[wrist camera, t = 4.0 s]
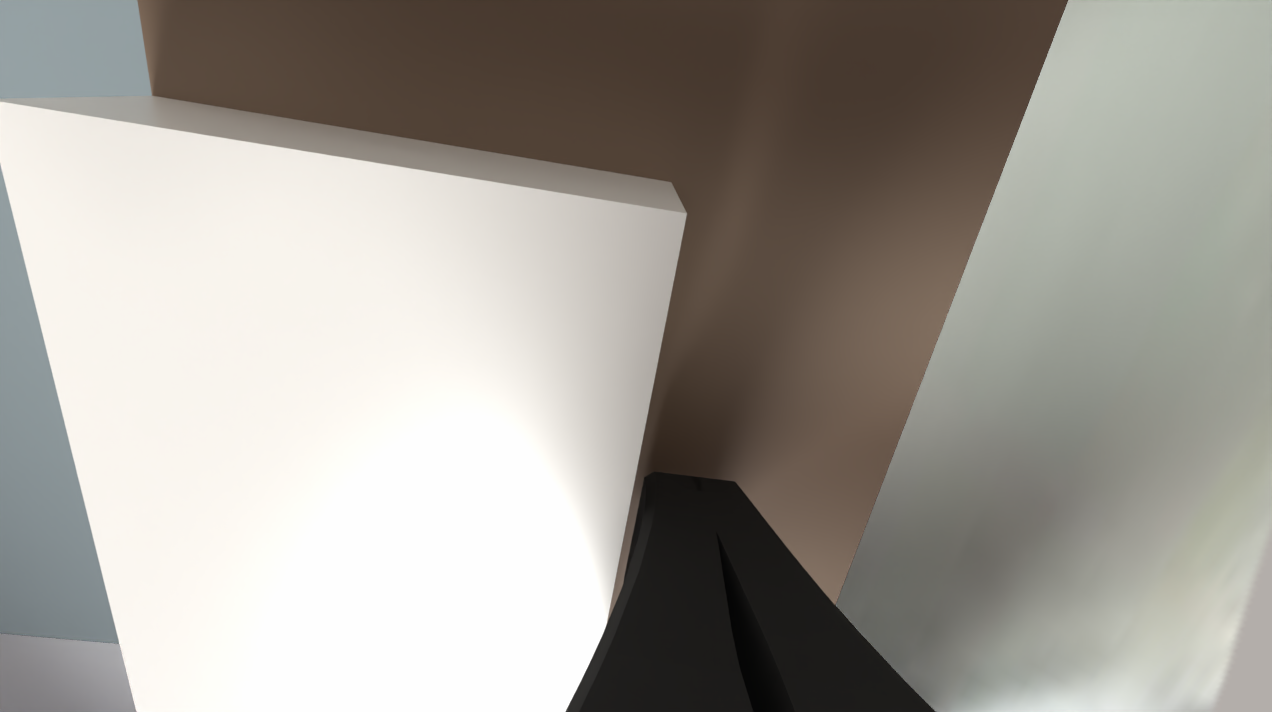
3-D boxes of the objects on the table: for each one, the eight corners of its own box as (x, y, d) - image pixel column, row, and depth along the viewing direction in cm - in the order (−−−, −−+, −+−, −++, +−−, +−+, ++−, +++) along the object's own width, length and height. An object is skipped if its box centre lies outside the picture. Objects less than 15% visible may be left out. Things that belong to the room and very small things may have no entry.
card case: (579, 687, 11) (570, 807, 9) (234, 655, 10) (151, 774, 9) (671, 182, 7) (687, 213, 6) (152, 95, 7) (-17, 98, 5)
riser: (722, 658, 16) (752, 821, 13) (343, 622, 16) (257, 786, 12) (927, -26, 10) (1102, -90, 6) (302, -146, 9) (91, -301, 6)
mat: (325, 648, 16) (318, 661, 16) (-131, 606, 15) (-150, 620, 15) (261, -239, 9) (246, -253, 8) (-618, -418, 8) (-679, -443, 8)
